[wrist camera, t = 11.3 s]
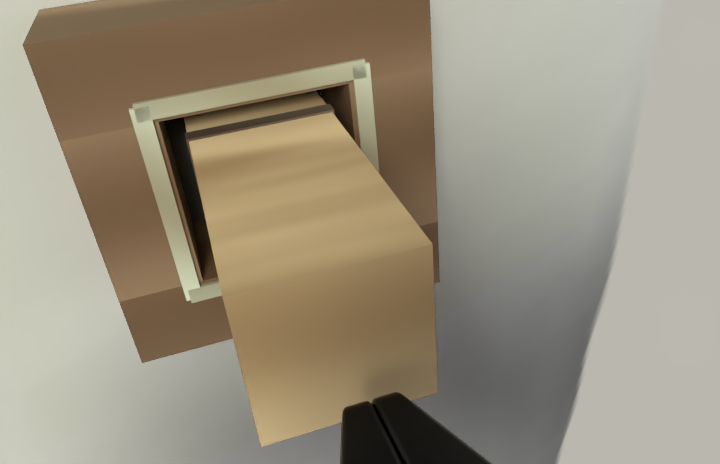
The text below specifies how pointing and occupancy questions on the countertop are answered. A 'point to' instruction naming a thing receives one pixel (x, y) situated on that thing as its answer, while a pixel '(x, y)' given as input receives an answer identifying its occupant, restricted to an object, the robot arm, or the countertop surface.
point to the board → (209, 93)
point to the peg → (312, 264)
